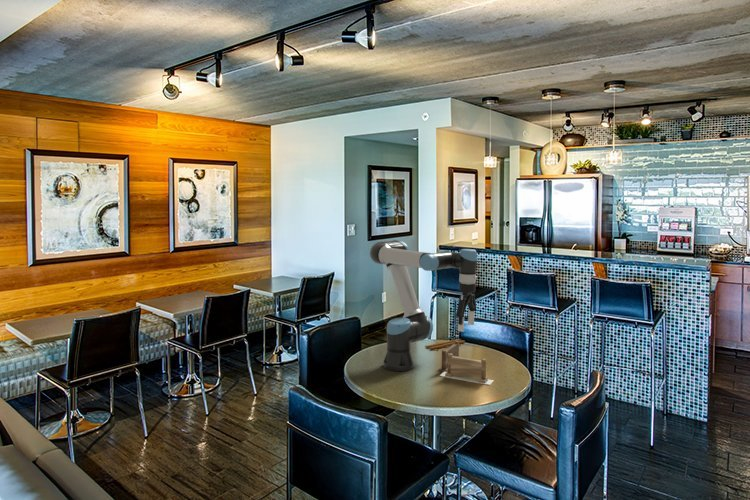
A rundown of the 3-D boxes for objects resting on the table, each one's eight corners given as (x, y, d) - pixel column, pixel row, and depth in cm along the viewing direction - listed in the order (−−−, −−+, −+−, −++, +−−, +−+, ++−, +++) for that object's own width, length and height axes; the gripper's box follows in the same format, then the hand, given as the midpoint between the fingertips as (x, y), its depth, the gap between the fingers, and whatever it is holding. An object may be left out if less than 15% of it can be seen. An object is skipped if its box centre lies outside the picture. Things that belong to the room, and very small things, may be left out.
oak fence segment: (485, 382, 224) (485, 361, 223) (445, 375, 233) (445, 354, 232) (487, 379, 228) (488, 358, 227) (448, 372, 237) (448, 352, 236)
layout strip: (439, 376, 234) (439, 375, 234) (444, 372, 239) (444, 371, 239) (490, 385, 222) (490, 384, 222) (493, 381, 227) (493, 380, 227)
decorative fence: (422, 348, 280) (434, 352, 272) (422, 344, 280) (434, 349, 272) (456, 341, 294) (468, 345, 286) (456, 337, 294) (468, 341, 285)
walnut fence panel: (438, 370, 241) (438, 350, 240) (453, 358, 259) (453, 340, 258) (446, 372, 239) (447, 352, 238) (461, 360, 257) (461, 341, 256)
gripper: (465, 287, 216) (464, 335, 219) (484, 279, 238) (482, 323, 240) (449, 286, 220) (448, 332, 222) (469, 278, 241) (467, 320, 244)
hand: (465, 327), depth 231 cm, fingers open, 13 cm apart
